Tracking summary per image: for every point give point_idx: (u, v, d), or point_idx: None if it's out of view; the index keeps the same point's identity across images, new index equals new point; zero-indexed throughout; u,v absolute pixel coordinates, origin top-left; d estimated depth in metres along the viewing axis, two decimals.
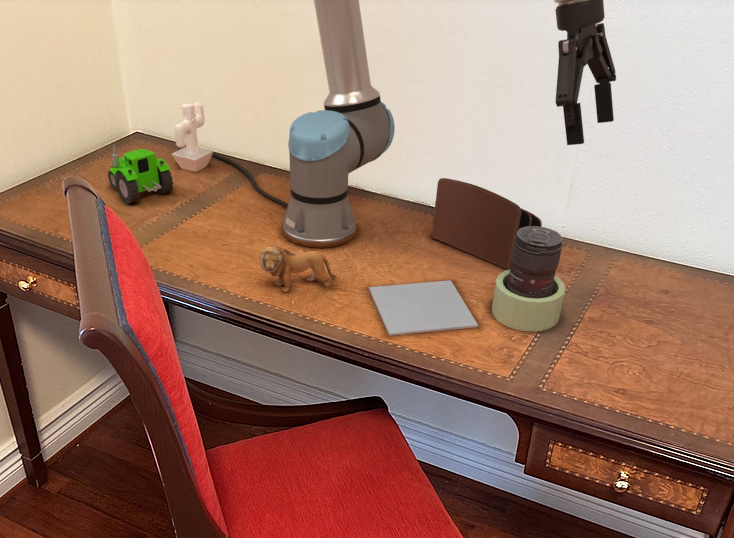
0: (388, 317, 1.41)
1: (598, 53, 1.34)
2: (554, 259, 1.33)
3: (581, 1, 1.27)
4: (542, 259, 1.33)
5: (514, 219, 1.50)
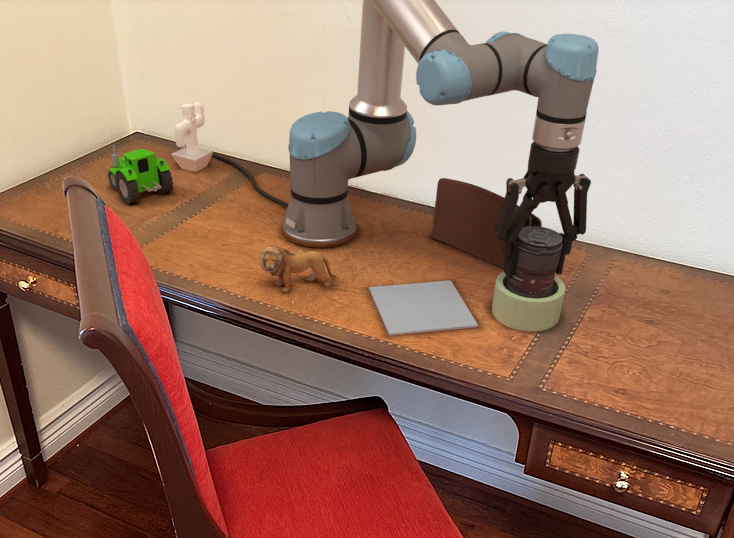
0: (388, 317, 1.41)
1: (560, 202, 1.30)
2: (554, 259, 1.33)
3: (543, 148, 1.23)
4: (543, 259, 1.33)
5: None
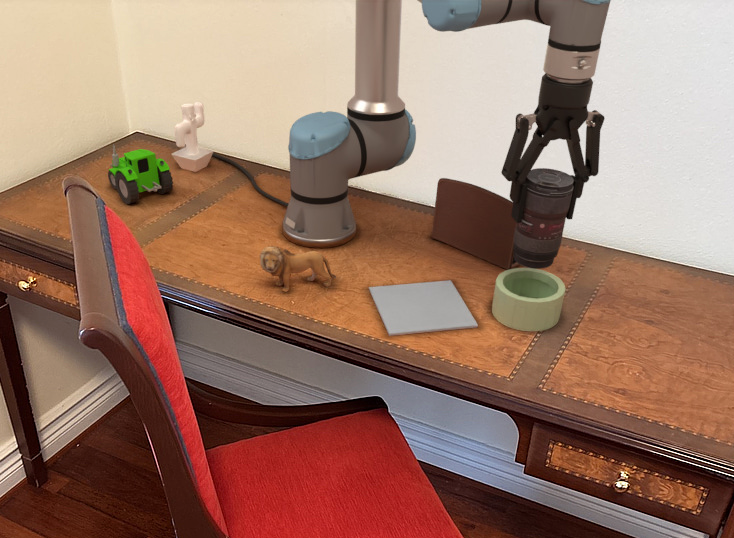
0: (388, 317, 1.41)
1: (571, 140, 1.23)
2: (565, 202, 1.27)
3: (555, 80, 1.17)
4: (553, 201, 1.26)
5: None
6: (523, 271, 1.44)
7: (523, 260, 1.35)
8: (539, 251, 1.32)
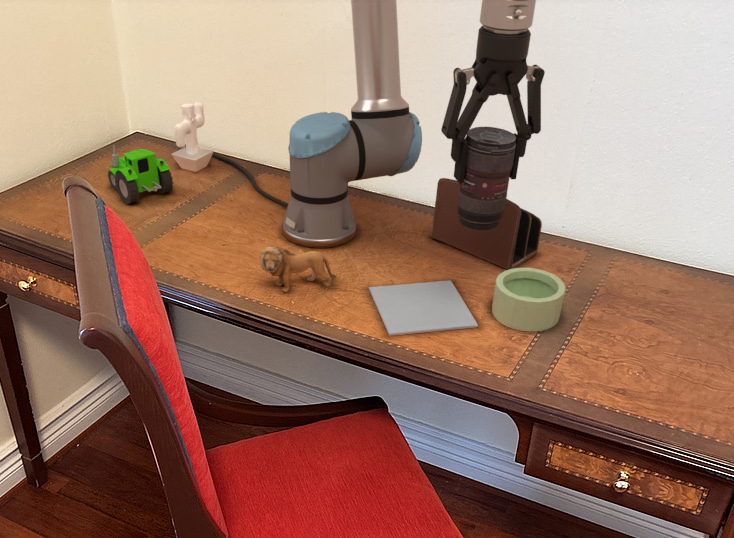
0: (388, 317, 1.41)
1: (511, 95, 1.20)
2: (507, 160, 1.24)
3: (491, 31, 1.13)
4: (494, 159, 1.23)
5: (514, 219, 1.50)
6: (523, 271, 1.44)
7: (467, 222, 1.31)
8: (483, 212, 1.29)
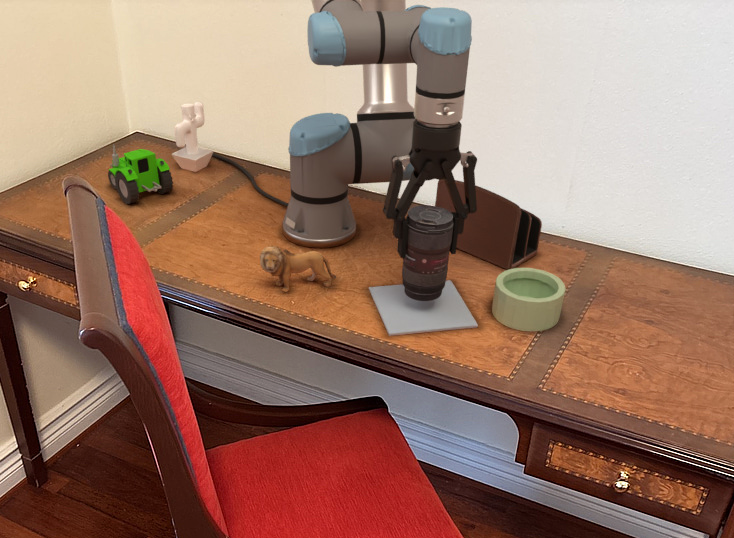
0: (388, 317, 1.41)
1: (446, 180, 1.28)
2: (445, 238, 1.32)
3: (423, 124, 1.22)
4: (432, 238, 1.31)
5: (514, 219, 1.50)
6: (523, 271, 1.44)
7: (410, 293, 1.40)
8: (424, 285, 1.37)
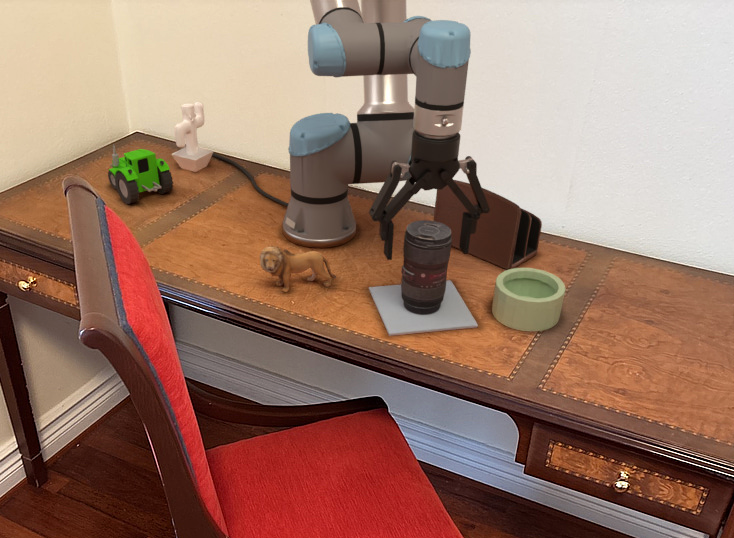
0: (388, 317, 1.41)
1: (450, 188, 1.30)
2: (443, 253, 1.34)
3: (422, 136, 1.23)
4: (430, 253, 1.33)
5: (514, 219, 1.50)
6: (523, 271, 1.44)
7: (409, 306, 1.41)
8: (422, 299, 1.39)
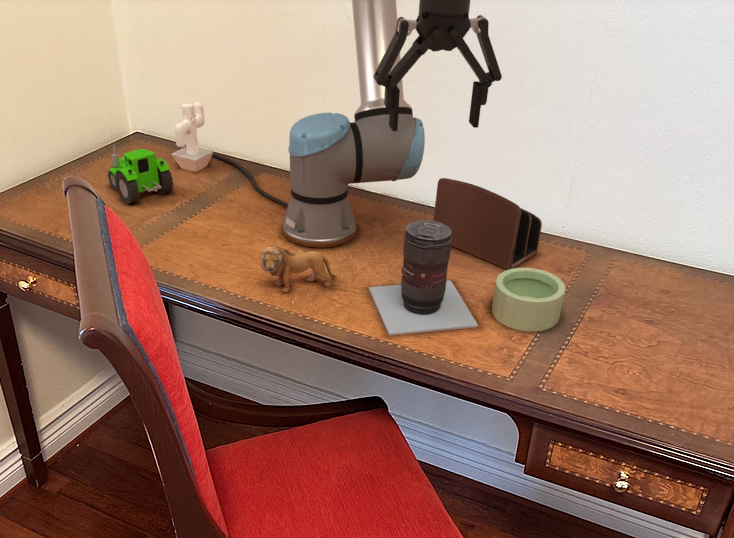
0: (388, 317, 1.41)
1: (460, 49, 1.22)
2: (443, 253, 1.34)
3: None
4: (430, 253, 1.33)
5: (514, 219, 1.50)
6: (523, 271, 1.44)
7: (409, 306, 1.41)
8: (422, 299, 1.39)
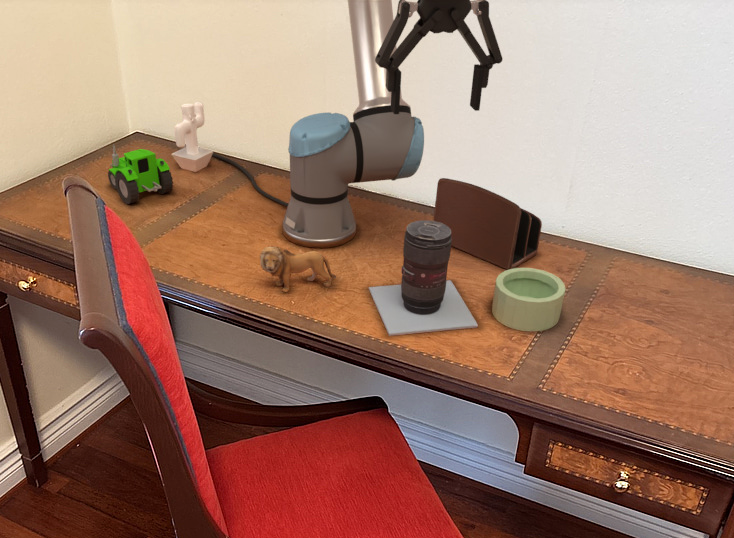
0: (388, 317, 1.41)
1: (460, 31, 1.23)
2: (443, 253, 1.34)
3: None
4: (430, 253, 1.33)
5: (514, 219, 1.50)
6: (523, 271, 1.44)
7: (409, 306, 1.41)
8: (422, 299, 1.39)
